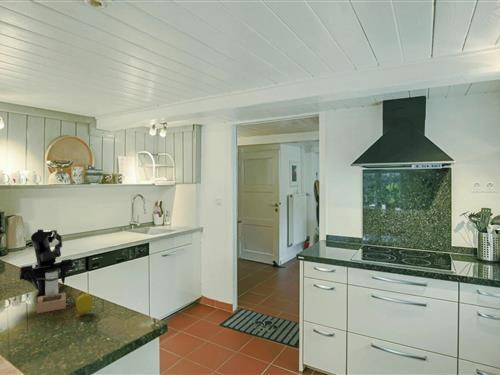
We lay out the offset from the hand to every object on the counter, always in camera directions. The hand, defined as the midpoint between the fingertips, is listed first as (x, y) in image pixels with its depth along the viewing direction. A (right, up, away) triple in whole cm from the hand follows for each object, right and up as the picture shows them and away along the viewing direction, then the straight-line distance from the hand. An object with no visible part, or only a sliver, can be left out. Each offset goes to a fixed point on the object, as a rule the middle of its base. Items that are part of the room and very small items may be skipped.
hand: (50, 285), depth 126 cm
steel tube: (+2, -8, -2) cm, 8 cm away
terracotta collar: (+2, -8, -2) cm, 8 cm away
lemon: (+19, -8, -10) cm, 23 cm away
